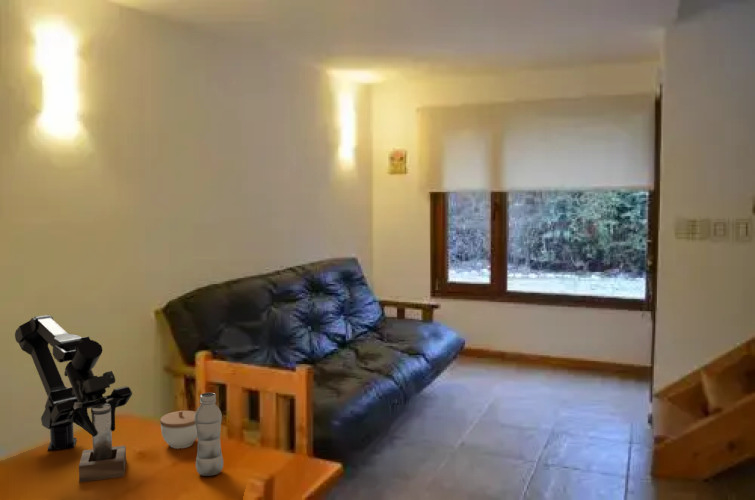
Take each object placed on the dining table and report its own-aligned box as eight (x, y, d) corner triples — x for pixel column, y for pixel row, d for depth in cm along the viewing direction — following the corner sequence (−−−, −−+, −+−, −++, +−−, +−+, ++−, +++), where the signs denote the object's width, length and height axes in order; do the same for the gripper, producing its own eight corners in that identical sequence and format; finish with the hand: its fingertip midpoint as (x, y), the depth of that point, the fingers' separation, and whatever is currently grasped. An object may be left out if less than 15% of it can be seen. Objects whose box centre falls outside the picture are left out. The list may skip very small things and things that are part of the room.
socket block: (83, 465, 163) (83, 450, 163) (126, 460, 167) (125, 445, 166) (79, 482, 154) (78, 466, 154) (124, 476, 157) (123, 460, 157)
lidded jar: (164, 455, 170) (163, 420, 169) (158, 441, 179) (157, 408, 179) (205, 447, 175) (204, 414, 174) (197, 434, 184) (196, 402, 184)
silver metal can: (95, 453, 162) (94, 403, 161) (115, 452, 163) (113, 402, 161) (90, 461, 157) (88, 409, 156) (109, 460, 158) (108, 409, 157)
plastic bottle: (216, 480, 155) (214, 400, 153) (190, 478, 156) (188, 398, 154) (228, 469, 161) (226, 391, 159) (203, 466, 163) (201, 390, 161)
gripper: (53, 370, 153) (75, 426, 147) (127, 355, 167) (150, 406, 161) (41, 395, 159) (62, 450, 153) (114, 379, 173) (135, 428, 167)
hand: (104, 433), depth 158 cm, fingers closed on silver metal can, 4 cm apart
